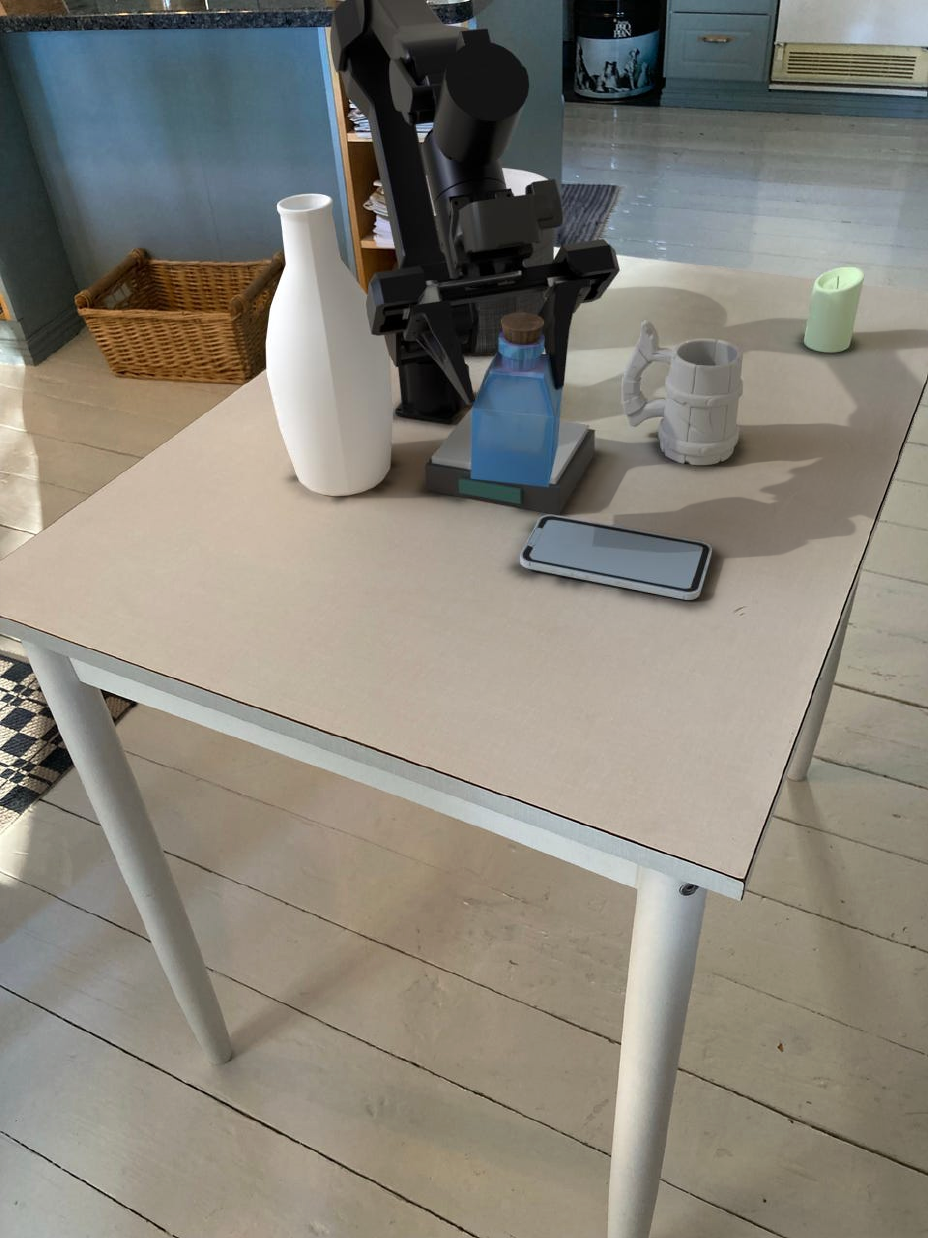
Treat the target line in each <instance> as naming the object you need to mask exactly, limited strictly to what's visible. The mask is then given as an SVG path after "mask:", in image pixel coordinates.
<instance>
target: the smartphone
mask: <svg viewBox="0 0 928 1238" xmlns="http://www.w3.org/2000/svg"><path fill="white" fill-rule="evenodd" d="M712 553H713V547H712V546H711V545H710V544H709V543H707V542H704V541H701V540H700V541H699V540H694V539H689V538H683V537H678V536H673V535H667V534H662V533H655V532H650V531H645V530H640V529H633V528H628V527H622V526H617V525H612V524H606V523H600V522H595V521H589V520H584V519H579V518H573V517H567V516H561V515H557V514H545V515H542V516H540V517H539V518H538V520H537V522H536V524H535V525H534V528H533V529H532V531H531V533H530V534H529V537H528V539H527V540H526V542H525V544H524V546H523V548H522V550H521V551H520V553H519V563H520V565H521V566H522V567H524V568H526V569H528V570H533V571H538V572H543V573H549V574H554V575H559V576H562V577H563V576H564V577H569V578H574V579H578V580H583V581H589V582H593V583H598V584H604V585H609V586H614V587H619V588H625V589H629V590H633V591H634V590H635V591H639V592H644V593H649V594H650V593H651V594H655V595H659V596H664V597H670V598H675V599H679V600H685V601H692V600H696V599H697V598H699V597H700V595H701V592H702V589H703V585H704V581H705V579H706V575H707V571H708V568H709V564H710V562H711V559H712Z"/></svg>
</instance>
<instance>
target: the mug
mask: <svg viewBox="0 0 928 1238" xmlns="http://www.w3.org/2000/svg"><path fill="white" fill-rule="evenodd" d="M659 343H660V341H659V333H658V331H657V329H656V328H655V326H654V324H653V323H652V322H651V321H650V320H649V319H647V318H645V319H643V321H642V322H641V324H640V334H639V337H638V341H637V342H636V344H635V348H634V349H633V352H632V354H631V356H630V358H629V360H628V363H627V365H626V368H625V371H624V374H623V376H622V378H621V385H620V386H621V402H620V403H621V408H622V411H623V414H624V415H626V416H627V420H628V423H629V426H631V427H633V428H636V427H638V426H640V425H641V424H642V423H644V421H646V420H649V419H653V418H662V419H660V421H659V424H658V429H657V436H658V439H659V441H660V442H659V447H660V449H661V452H662V453H664V455H665V457H667V458H669V459H670V460H673V461H674V462H676V463H679V464H685V463H688V464H690V465H691V466H710V465H715V464H718V463H720V462H724V461H726V460H727V459H729V458H730V457H731V455H732V454H733V453H734V449H735V446H737V443H738V442H739V438H740V427H739V425H738V410H739V402H740V401H739V399H740V398H741V397H742V396H743V393H744V391H743V390H744V382H743V380H742V378H741V377H742V368H743V357H744V356H743V355H744V354H743V351H742V349H741V348H740V347H738V346H737V345H735V344H734V343H731V342H729V341H726V340H723V339H716V338H708V337H707V338H693V339H687V340H686V341H682V342H679V343H678V344H676V345H675V346H674V347H673V349H672V348H668V347H660V345H659ZM652 362H661V363H666V364H669V372H668V374H667V375H666V377H665V383H664V391H665V393H666V395H665V398H660V399H654V400H651V401H648V398H646V397H645V395H644V393H643V391H642V390H641V382H642V374H643V372H644V371H646V370H647V368H648V367H649V366H650V365H651V364H652Z"/></svg>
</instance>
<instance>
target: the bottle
mask: <svg viewBox="0 0 928 1238" xmlns="http://www.w3.org/2000/svg"><path fill="white" fill-rule="evenodd" d="M333 208H334V200H333V198H332V197H331V196H329V195H326V194H321V193H302V194H295V195H291V196H287V197H285V198H282V199H281V200H280V201H279V202H277V204H276V210H277V212H278V214H279V215H280V224H281V232H282V241H283V242H282V243H283V250H284V259H285V260H284V261H285V266H284V269H283V272H282V274H281V277H280V280H279V283H278V284H277V288H276V291H275V293H274V296H273V299H272V302H271V305H270V308H269V315H268V323H267V330H266V339H265V363H266V377H267V381H268V385H269V390H270V395H271V398H272V402H273V407H274V411H275V414H276V419H277V423H278V427H279V430H280V433H281V436H282V439H283V441H284V444H285V447H286V450H287V452H288V453H287V454H288V455H289V458H290V461H291V464H292V466H293V470H294V473H295V474H296V477H297V479H298V482H300V483H301V484H302V485H303V486H304V487H306V488H307V489H308V490H309V491H311V492H313V493H316V494H318V495H323V496H330V497H344V496H345V497H346V496H352V495H356V494H357V495H358V494H361V493H364V492H366V491H368V490H371V489H373V488H375V487H376V486H377V485H379V484H380V483H381V482H382V481H383V480H384V479H385V477H386V476H387V474H388V473H389V471H390V469H391V461H392V443H393V442H392V441H393V425H394V424H393V423H394V408H393V407H394V406H393V405H394V404H393V390H392V371H391V357H390V355H389V353H388V349H387V345H386V341H385V338H384V335H380V336H377V335H373V334H371V329H370V325H369V320H368V316H367V308H366V301H367V294H368V293H366V292H365V290H364V289H363V287H362V286H361V284H360V283H359V282H358V281H357V279H356V277H355V276H354V275H353V273H352V271H350V269H349V268H348V266H347V265H346V264H345V262H344V261H343V259H342V258H341V253H340V247H339V241H338V237H337V231H336V226H335V225H336V224H335V220H334V215H333Z"/></svg>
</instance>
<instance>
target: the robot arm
mask: <svg viewBox="0 0 928 1238" xmlns="http://www.w3.org/2000/svg"><path fill="white" fill-rule="evenodd" d="M330 24H331V25H330V32H329V33H330V34H329V41H330V45H329V46H330V53H331V59H332V64H333V68H334V71H335V72H336V73H337V74H338V73H340V74H341V79H342V83H343V87H344V90H345V91H344V92H345V95H346V97H347V99H348V100H349V101H350V102H351V103H352V104H353V105H354V106H355V108H356V109H357V110H358V111H359V112H360V113H361V114H362V115H363V116H364V117H365V118H366V120H367V122H368V126H369V131H370V136H371V140H372V145H373V150H374V155H375V160H376V164H377V169H378V174H379V175H378V176H379V179H380V183H381V184H380V185H381V189H382V193H383V198H384V203H385V208H386V212H387V213H386V214H387V217H388V223H389V227H390V232H391V237H392V241H393V247H394V251H395V256H396V261H397V266H398V268H397V269H396V268H395V269H390V270H389V269H388V270H383V271H376V272H374V273H373V275H372V277H371V279H370V280H369V282H368V287H367V293H366V294H367V301H366V308H367V316H368V320H369V325H370V329H371V334H373V335H377V336H380V335H384V338H385V341H386V345H387V349H388V353H389V356H390V360H391V361H392V363H393V365H394V367H395V368H397V369H398V370H397V371H398V377H399V378H398V381H399V390H400V391H399V392H400V401H401V402H400V404H398V406H397V407H396V408H395V409H394V413H395V415H396V416H400V417H405V418H412V419H416V420H417V419H418V420H423V421H424V420H425V421H430V422H436V423H443V424H450V423H453V422H454V420H455V419H456V418H457V417H458V416H459V414H460V413H461V412H462V411H463V409H464V408H465V407H466V406H473V404H474V402H475V395H474V389H473V384H472V380H471V376H470V365H469V364H468V363H466V360H465V355H468V354H470V355H471V354H475V350H476V347H477V336H478V323H479V316H480V309H479V308H478V307H477V306H476V304H475V302H479V301H485V300H492V299H498V298H505V297H511V296H518V295H524V294H530V293H537V292H541V294H542V298H543V303H544V305H543V307H542V309H541V310H540V312H539V314H538V316H539V317H541V318H542V319H543V320H544V325H543V328H542V332H541V333H542V334H543V335H544V336H545V343H544V352H545V354H550V360H551V368H552V374H553V378H554V383H555V388H556V390H561V389H562V390H563V388H564V386H565V379H566V368H567V360H568V359H567V357H568V347H569V340H570V339H569V337H570V331H571V330H570V329H571V325H572V320H573V316H574V314H576V312H577V310H578V309H579V307H580V306H581V305H583V304H588V303H593V302H595V301H597V300H599V299H601V298H602V296H603V295H604V294H605V292H606V291H607V289H608V288H609V286H610V285H611V284H612V282H613V281H614V279H615V278H616V277H617V276H618V274H619V273H620V272H621V269H620V265H619V260H618V256H617V252H616V249H615V248H614V247H612V245H611V244H610V243H608V242H607V241H606V240H605V239H604V238H600V239H594V240H587V241H586V240H585V241H579V242H572V243H566V244H561V246H560V247H559V249H558V251H557V253H556V254H555V255H554V260H553V262H552V263H551V264H544V265H538V266H531V267H525V265H524V259H529V258H530V257H531V255H532V253H533V251H534V250H533V246H532V243H540V242H541V234H540V231H543V230H550V229H554V230H555V229H557V228H559V227H561V226H562V225H563V221H564V213H563V204H562V198H561V195H560V191H559V187H558V184H557V181H556V178H551V179H548V180H543V181H536V182H532V183H531V184H529V185H527V186H526V188H525V195H519V196H514V194H513V193H512V190H511V188H510V189H507V187H506V183H505V179H504V174H503V170H502V168H503V166H502V162H501V158H502V157H503V155H504V154H505V153H506V152H507V151H508V150H509V147H510V144H511V142H512V139H513V137H514V135H515V131H516V128H517V125H518V123H519V121H520V118H521V115H522V112H523V109H524V107H525V104H526V101H527V100H528V99H527V98H528V96H529V91H530V90H529V89H530V79H529V74H528V70H527V68H526V67H525V66H524V65H523V63H522V62H521V61H520V59H519V57H517V56H516V55H515V54H514V53H513V52H512V51H510V50H509V49H507V48H506V47H505V46H502V45H500V44H497V43H495V42H492V41H491V36H490V32H489V29H488V27H482V28H481V27H480V28H472V29H470V28H468V27H465V26H459V25H458V26H457V25H449V24H445V23H443V22H442V20H441V19H440V18H439V17H438V15H437V14H436V12H435V11H434V10H433V9H432V8H431V6H430V5H429V3H428V2H427V1H426V0H344V1H343V2H341V3H340V4H339V5H338V6H337V7H336V8H335V9H334V10H333V11H332V16H331V23H330ZM425 124H426V125H427V124H432V128H431V129H430V130H429V131H428V132H427V133H426V135H425V137H424V138H423V142H422V144H420V138H419V134H418V129H417V126H418V125H425ZM426 176H427V177H426ZM427 178H428V182H429V187H430V191H431V196H432V200H433V205H434V209H435V214H436V218H437V222H438V227H439V232H438V231H437V226H436V221H435V216H434V211H433V207H432V202H431V197H430V192H429V187H428V182H427ZM439 240H440V241H439ZM440 244H441V245H440ZM441 246H443V249H444V252H443V251H442V249H441ZM470 355H469V356H470ZM562 387H563V388H562Z"/></svg>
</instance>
